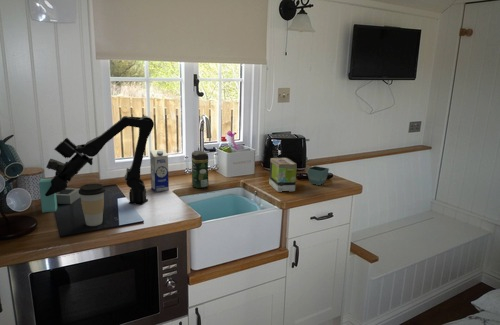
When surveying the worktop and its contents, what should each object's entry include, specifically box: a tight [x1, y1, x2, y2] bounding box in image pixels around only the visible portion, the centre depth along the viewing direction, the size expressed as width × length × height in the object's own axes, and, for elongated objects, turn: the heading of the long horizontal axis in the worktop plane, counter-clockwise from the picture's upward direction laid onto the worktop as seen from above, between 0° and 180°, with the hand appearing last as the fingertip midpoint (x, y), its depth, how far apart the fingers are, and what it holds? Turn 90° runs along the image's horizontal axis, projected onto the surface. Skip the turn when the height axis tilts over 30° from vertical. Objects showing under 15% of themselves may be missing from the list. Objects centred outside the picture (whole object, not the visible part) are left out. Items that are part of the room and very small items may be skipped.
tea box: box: [268, 157, 298, 193], centre depth 196 cm, size 15×10×15 cm
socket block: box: [56, 187, 81, 205], centre depth 169 cm, size 10×10×4 cm
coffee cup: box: [79, 183, 106, 227], centre depth 144 cm, size 9×9×15 cm
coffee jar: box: [191, 149, 209, 189], centre depth 194 cm, size 10×8×19 cm
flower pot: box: [307, 165, 330, 186], centre depth 204 cm, size 9×9×9 cm
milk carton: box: [149, 148, 170, 193], centre depth 186 cm, size 7×7×20 cm
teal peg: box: [38, 177, 58, 213], centre depth 156 cm, size 5×5×13 cm
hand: (47, 192), depth 156 cm, fingers open, 9 cm apart
